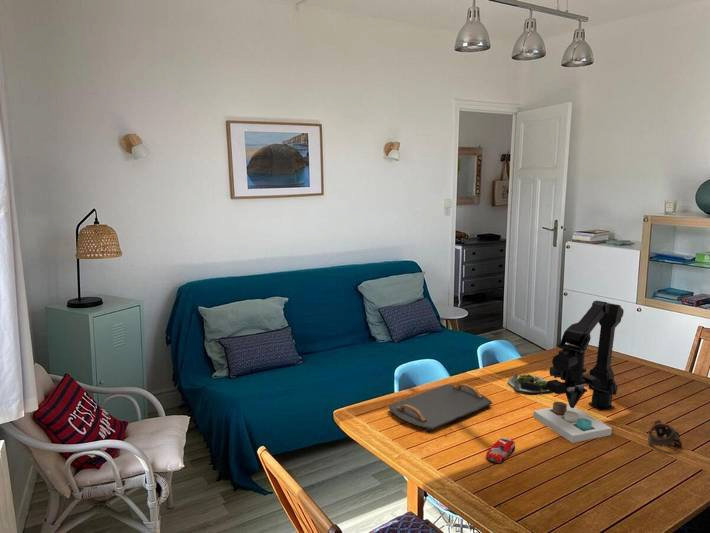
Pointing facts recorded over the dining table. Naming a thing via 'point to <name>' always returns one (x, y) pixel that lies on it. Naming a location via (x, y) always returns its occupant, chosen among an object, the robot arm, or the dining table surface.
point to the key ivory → (571, 416)
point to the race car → (500, 450)
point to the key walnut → (559, 408)
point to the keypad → (572, 425)
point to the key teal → (584, 424)
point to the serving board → (440, 405)
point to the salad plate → (529, 384)
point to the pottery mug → (660, 429)
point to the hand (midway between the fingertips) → (571, 407)
